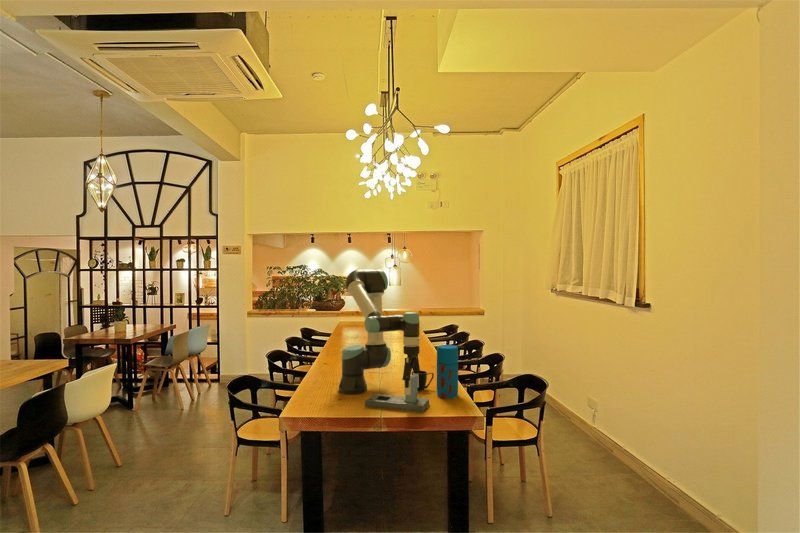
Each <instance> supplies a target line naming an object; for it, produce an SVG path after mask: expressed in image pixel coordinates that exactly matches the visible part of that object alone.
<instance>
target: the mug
mask: <svg viewBox="0 0 800 533" xmlns="http://www.w3.org/2000/svg"><path fill="white" fill-rule="evenodd" d="M413 373H414V372H413V370H412V371H411V375H413ZM418 374H419V387H417V392H424V391H425V390H426V389H428V387H429V386H430V384H431V383H432V381H433V380H434V374H435V373H433V372H427V371H425V370H420V373H418ZM428 375H431V378H430V381H429V382H428V383H427V381H428Z"/></svg>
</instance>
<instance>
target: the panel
mask: <svg viewBox="0 0 800 533" xmlns="http://www.w3.org/2000/svg"><path fill="white" fill-rule="evenodd" d="M429 405H430V398H429V397H426V398H425V397H424V398H423V397H417V403H408V402H406V395H395V394H394V395H393V394H385V393H384V394H381V393H373V394H372V395H371V396H369V397H368V398H366V399H365V402H364V407H365V408H373V409H384V410H393V411H394V410H395V411H401V412H402V411H403V412H413V413H421V414H422V413H424V411H426V409H427V408H428V407H429Z"/></svg>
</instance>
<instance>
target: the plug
mask: <svg viewBox="0 0 800 533" xmlns="http://www.w3.org/2000/svg"><path fill="white" fill-rule="evenodd" d="M410 380H411V395H405V396H406V402H408V403H417V398H418V391H417V377H415V376H414V375H412V374H411V376H410Z"/></svg>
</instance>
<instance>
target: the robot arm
mask: <svg viewBox="0 0 800 533" xmlns="http://www.w3.org/2000/svg"><path fill="white" fill-rule="evenodd" d="M388 285H389V279H388V276H387V274H386V272H385V271H384V270H382V269H355V270H352V271H350V273H348V275H347V276H346V278H345V284H344V286H345V290H346V291H347V294H349V295H350V296H351V297H352V298H353V301H355V304H356V306H358V308H359V310H360V311H361V314H362V316H363V317H364V327H365V328H364V329H365V331H366V333H367V341H366V342H365V343H364V344H365V345H362V344H357V345H350V346H347V347H345V348H343V349H342V351H341V378H340V381H339V384H338V392H339V393H340V394H344V395H358V394H363V393H365V392H367V391H368V384H367V382H366V379H365V370H372V369H381V368H386V367H387V366H388V365H389V363H390V362H391V358H392V352H391V347H390V346H389V345H387V342H386V341H385V340H384V332H385V333H386V332H398V331H401V332H403V338H402V339H403V354H404V355H407V356H406V357H405V358H404V366H403V374H402V378H401V380H402V381H404V384H403V385H404V393H403V394H404V396H406V395H411V380H410V376H411V375H412V371H413V372H414V373H413V375H414V376H415V377H417V387H419V374H418V373H420V371H421V368H420V362H419V361H420V360H419V354H420V352H421V351H420V346H419V345H420V341H421V338H420V313H419V312H416V311H409V312H407V311H406V312H404V313H403V314H394V315H383V299H382V296H383V295H384V294H385V291H386V290H387V289H388Z"/></svg>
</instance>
